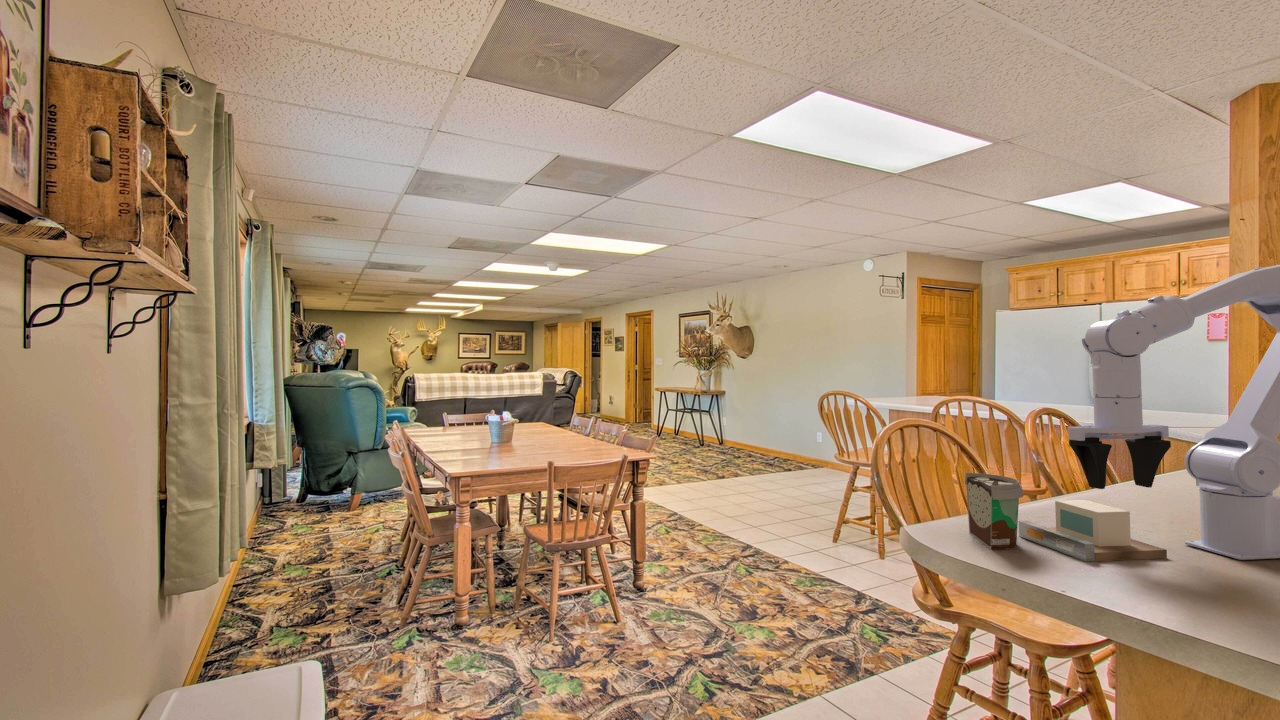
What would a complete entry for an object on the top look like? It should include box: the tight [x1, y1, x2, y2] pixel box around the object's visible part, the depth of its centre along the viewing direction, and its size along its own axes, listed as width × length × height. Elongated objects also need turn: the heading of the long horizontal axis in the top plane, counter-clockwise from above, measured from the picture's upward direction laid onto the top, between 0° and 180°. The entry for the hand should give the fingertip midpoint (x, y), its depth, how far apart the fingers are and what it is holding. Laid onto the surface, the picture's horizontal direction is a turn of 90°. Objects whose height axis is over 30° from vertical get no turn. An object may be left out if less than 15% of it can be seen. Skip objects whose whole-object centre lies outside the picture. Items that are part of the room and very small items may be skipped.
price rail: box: [1018, 520, 1096, 563], centre depth 89 cm, size 2×13×2 cm, turn 5°
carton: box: [1054, 499, 1132, 547], centre depth 90 cm, size 8×5×5 cm, turn 4°
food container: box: [964, 472, 1025, 551], centre depth 93 cm, size 12×6×10 cm, turn 168°
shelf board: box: [1049, 527, 1168, 562], centre depth 89 cm, size 11×13×1 cm
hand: (1120, 487), depth 88 cm, fingers open, 7 cm apart
